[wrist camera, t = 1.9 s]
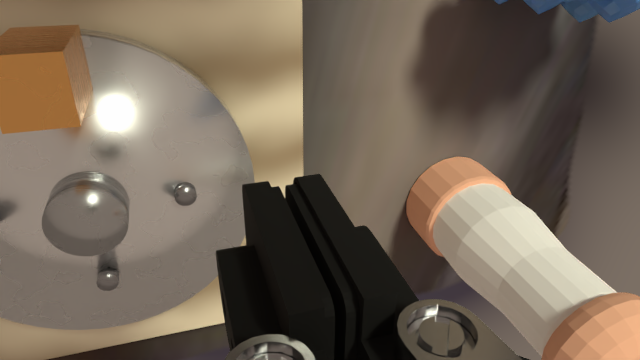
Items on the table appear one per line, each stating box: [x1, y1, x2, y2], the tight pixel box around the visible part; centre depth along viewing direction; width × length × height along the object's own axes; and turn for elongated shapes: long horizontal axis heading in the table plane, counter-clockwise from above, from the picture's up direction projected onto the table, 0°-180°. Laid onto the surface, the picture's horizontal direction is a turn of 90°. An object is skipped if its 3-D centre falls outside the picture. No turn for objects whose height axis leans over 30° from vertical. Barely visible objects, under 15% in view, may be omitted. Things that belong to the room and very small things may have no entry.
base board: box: [0, 0, 303, 360], centre depth 27 cm, size 25×25×6 cm
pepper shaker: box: [406, 157, 640, 360], centre depth 31 cm, size 7×7×19 cm
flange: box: [0, 25, 255, 330], centre depth 25 cm, size 18×18×6 cm
